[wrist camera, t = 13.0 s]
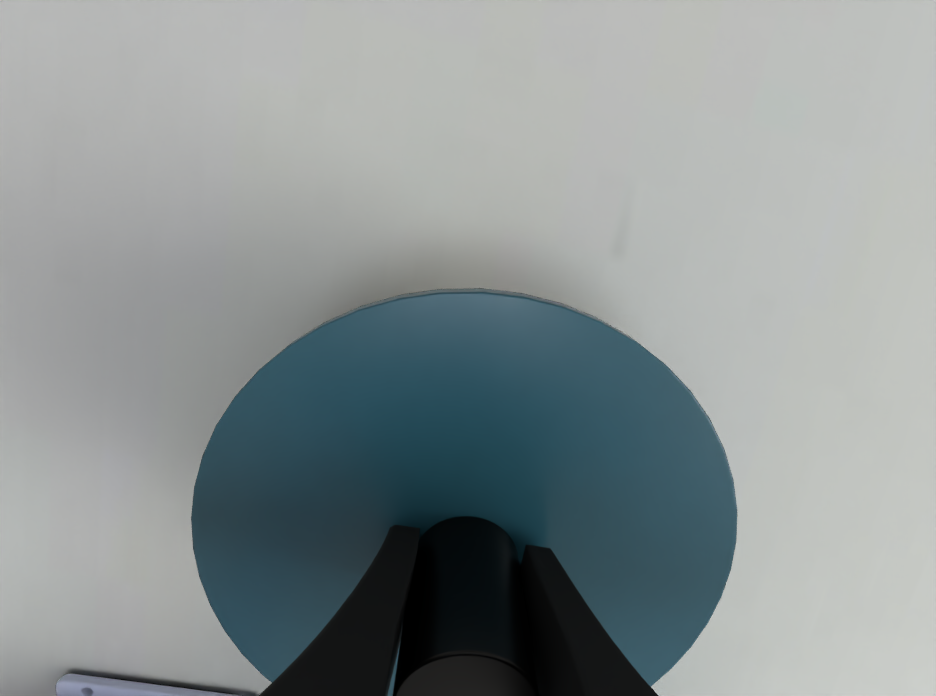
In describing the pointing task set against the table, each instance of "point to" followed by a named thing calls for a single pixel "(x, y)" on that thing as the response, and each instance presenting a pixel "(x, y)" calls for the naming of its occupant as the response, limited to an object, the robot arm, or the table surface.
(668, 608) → the lid
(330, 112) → the table surface
